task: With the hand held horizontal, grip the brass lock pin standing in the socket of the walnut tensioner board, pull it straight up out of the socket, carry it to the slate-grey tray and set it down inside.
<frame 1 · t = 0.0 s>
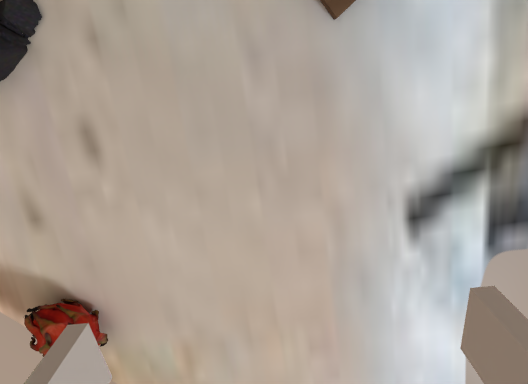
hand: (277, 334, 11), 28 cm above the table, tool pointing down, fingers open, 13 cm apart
red bumpy oval lump: (80, 313, 48), on the table
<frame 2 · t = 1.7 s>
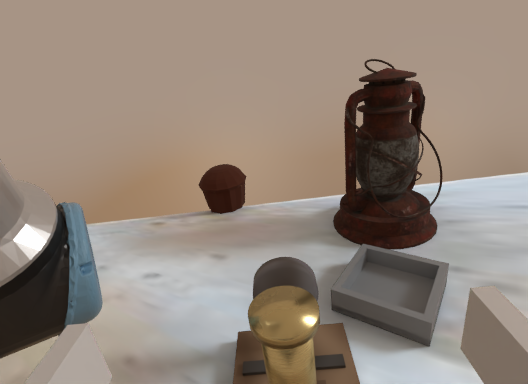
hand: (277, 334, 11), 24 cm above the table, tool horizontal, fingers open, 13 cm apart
tray: (390, 296, 44), on the table
muffin: (227, 205, 79), on the table
lantern: (382, 222, 63), on the table
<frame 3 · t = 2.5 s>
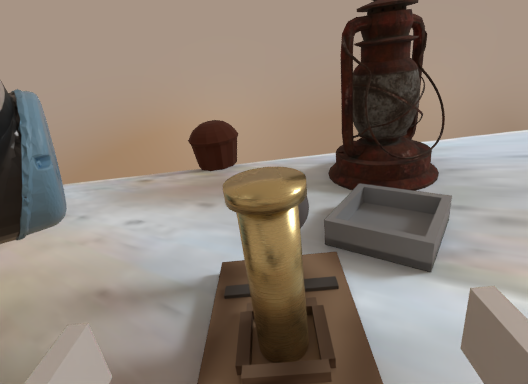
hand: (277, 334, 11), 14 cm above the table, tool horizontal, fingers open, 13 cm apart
tray: (388, 231, 41), on the table
muffin: (218, 164, 75), on the table
lock pin: (283, 342, 25), point 2 cm above the table, touching tensioner board
tensioner board: (283, 326, 29), on the table
lantern: (380, 173, 59), on the table
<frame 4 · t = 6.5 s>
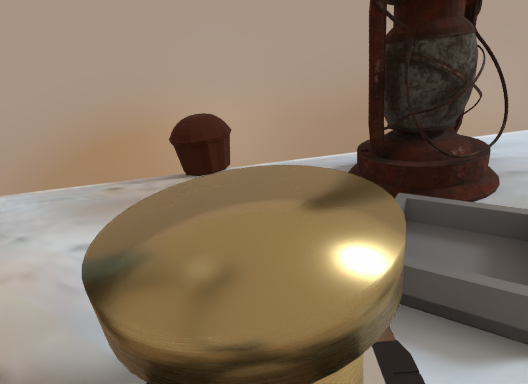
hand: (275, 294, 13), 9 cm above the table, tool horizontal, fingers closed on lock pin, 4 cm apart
tray: (453, 268, 26), on the table
muffin: (207, 168, 61), on the table
lantern: (416, 177, 45), on the table
when the fingers open (10 cm above the table, at t = 12.5 s): lock pin drops 2 cm, resting on tray.
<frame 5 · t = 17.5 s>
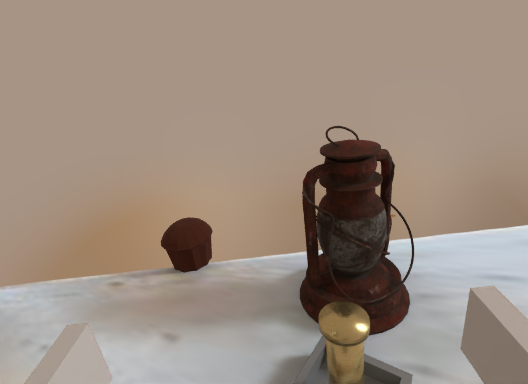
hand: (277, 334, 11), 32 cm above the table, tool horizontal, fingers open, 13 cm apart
muffin: (193, 260, 74), on the table
lantern: (352, 294, 58), on the table
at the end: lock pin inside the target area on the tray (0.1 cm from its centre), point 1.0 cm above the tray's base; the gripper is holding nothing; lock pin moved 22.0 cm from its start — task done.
